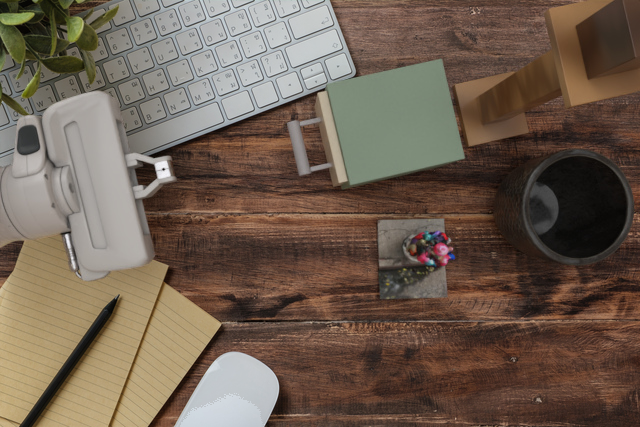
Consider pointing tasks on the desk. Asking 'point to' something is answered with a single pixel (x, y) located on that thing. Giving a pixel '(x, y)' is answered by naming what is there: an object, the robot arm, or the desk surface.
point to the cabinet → (395, 122)
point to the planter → (565, 207)
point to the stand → (538, 82)
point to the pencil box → (611, 39)
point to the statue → (413, 258)
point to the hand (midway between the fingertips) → (173, 168)
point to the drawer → (328, 139)
